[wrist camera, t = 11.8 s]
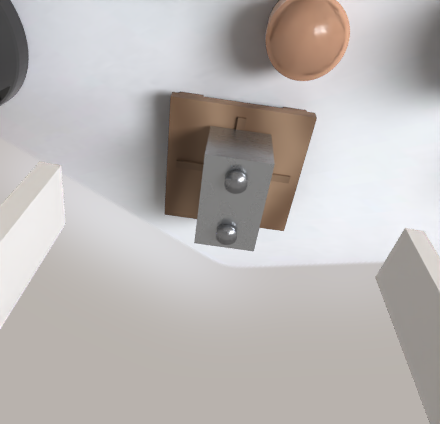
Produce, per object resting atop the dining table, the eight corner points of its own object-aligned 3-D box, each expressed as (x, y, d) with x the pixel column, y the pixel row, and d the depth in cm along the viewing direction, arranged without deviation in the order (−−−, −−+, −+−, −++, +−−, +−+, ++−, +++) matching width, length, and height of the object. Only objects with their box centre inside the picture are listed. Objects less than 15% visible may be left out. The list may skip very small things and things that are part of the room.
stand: (168, 199, 47) (164, 215, 44) (175, 86, 38) (170, 97, 36) (282, 215, 47) (283, 232, 44) (312, 106, 39) (317, 118, 36)
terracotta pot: (257, 59, 37) (259, 74, 33) (271, -21, 33) (275, -14, 29) (326, 69, 37) (335, 85, 33) (348, -10, 33) (361, -2, 29)
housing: (210, 125, 37) (203, 158, 32) (271, 134, 37) (275, 169, 32) (200, 208, 43) (193, 248, 38) (253, 215, 43) (253, 256, 38)
